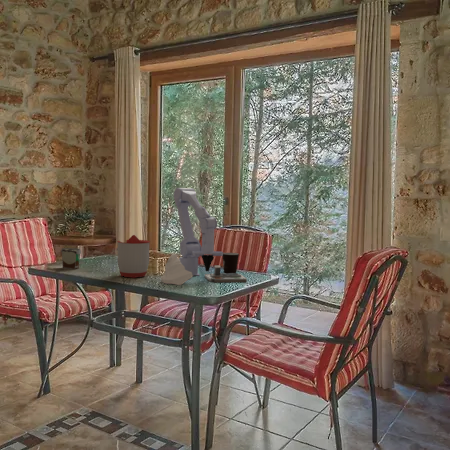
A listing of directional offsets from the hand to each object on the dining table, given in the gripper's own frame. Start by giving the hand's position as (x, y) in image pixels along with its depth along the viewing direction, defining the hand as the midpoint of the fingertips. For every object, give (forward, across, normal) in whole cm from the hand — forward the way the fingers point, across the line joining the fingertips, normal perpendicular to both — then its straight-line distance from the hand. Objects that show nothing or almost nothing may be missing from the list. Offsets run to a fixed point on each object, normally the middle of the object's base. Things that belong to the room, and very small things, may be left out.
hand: (207, 271), depth 241 cm
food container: (+4, -64, +37) cm, 74 cm away
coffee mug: (+4, +16, +19) cm, 25 cm away
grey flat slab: (+4, +9, 0) cm, 10 cm away
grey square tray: (+4, +9, 0) cm, 10 cm away
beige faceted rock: (+4, -16, -8) cm, 18 cm away
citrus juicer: (+4, -35, +11) cm, 37 cm away
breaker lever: (+3, +5, 0) cm, 6 cm away
